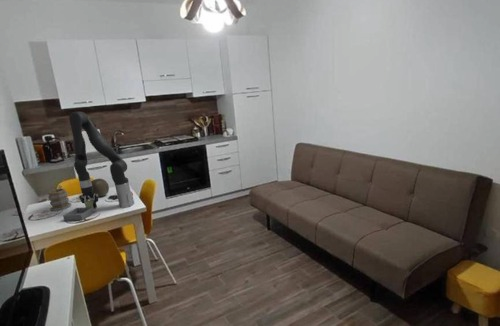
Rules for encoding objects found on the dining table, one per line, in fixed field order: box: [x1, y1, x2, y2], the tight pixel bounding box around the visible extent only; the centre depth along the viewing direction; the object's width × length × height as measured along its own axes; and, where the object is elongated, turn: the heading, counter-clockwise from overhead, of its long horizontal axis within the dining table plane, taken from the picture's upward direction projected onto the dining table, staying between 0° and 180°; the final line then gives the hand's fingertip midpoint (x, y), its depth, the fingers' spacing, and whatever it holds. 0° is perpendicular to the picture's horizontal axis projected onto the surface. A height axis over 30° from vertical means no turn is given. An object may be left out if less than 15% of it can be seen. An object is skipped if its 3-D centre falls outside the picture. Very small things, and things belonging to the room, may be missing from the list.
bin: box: [62, 206, 95, 222], centre depth 207 cm, size 13×13×4 cm
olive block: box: [84, 200, 98, 210], centre depth 219 cm, size 5×5×6 cm
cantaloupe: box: [91, 178, 110, 197], centre depth 246 cm, size 14×14×15 cm
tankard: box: [47, 185, 72, 212], centre depth 231 cm, size 20×13×15 cm, turn 18°
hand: (91, 207), depth 219 cm, fingers closed on olive block, 5 cm apart
